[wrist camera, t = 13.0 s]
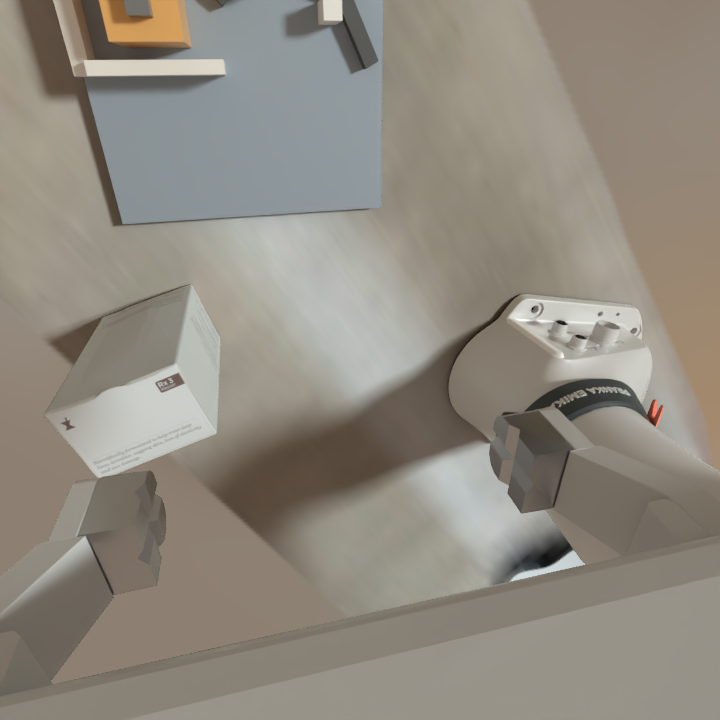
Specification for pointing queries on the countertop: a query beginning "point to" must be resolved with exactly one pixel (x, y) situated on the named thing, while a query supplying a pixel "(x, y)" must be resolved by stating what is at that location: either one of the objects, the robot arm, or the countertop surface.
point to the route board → (238, 108)
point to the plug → (146, 23)
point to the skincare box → (141, 384)
